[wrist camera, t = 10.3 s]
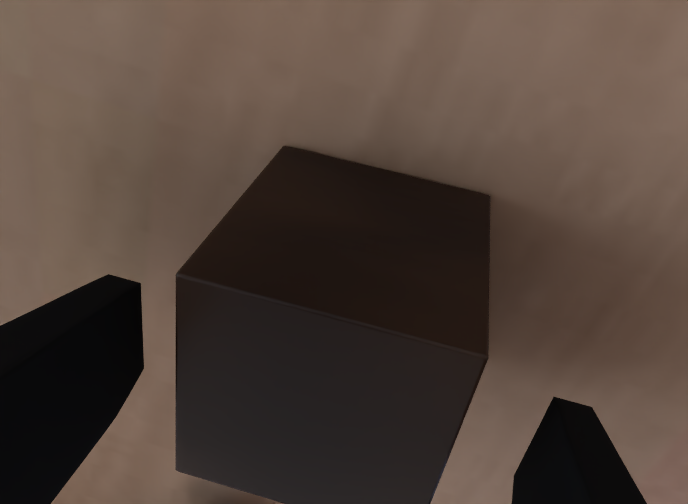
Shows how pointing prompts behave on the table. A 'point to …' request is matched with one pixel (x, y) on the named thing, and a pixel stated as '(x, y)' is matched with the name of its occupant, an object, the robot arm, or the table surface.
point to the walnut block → (332, 334)
